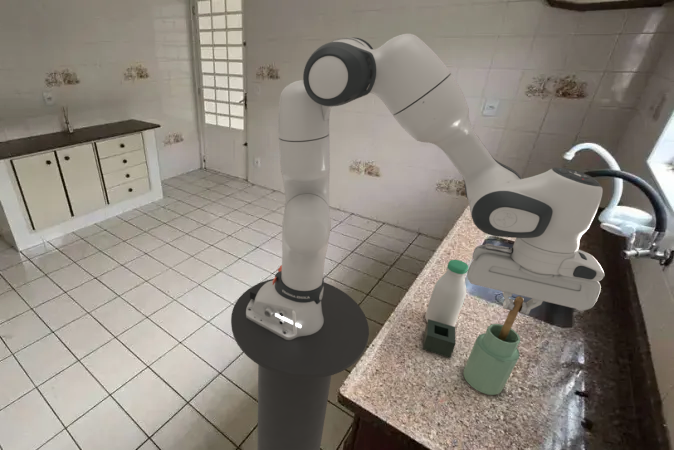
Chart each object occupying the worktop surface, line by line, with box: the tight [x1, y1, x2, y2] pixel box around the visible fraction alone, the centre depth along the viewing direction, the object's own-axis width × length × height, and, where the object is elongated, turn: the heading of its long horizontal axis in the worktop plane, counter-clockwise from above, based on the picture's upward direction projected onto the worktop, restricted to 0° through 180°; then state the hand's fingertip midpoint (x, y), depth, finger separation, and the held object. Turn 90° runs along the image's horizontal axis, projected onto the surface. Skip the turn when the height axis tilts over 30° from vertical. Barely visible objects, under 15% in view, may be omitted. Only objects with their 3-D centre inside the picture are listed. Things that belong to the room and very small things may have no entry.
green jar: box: [463, 323, 521, 396], centre depth 79 cm, size 8×8×15 cm
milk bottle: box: [424, 259, 469, 328], centre depth 95 cm, size 8×8×20 cm
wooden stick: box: [498, 295, 525, 341], centre depth 75 cm, size 1×2×17 cm, turn 154°
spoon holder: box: [422, 319, 456, 358], centre depth 91 cm, size 6×6×5 cm
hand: (515, 309), depth 72 cm, fingers closed on wooden stick, 1 cm apart
